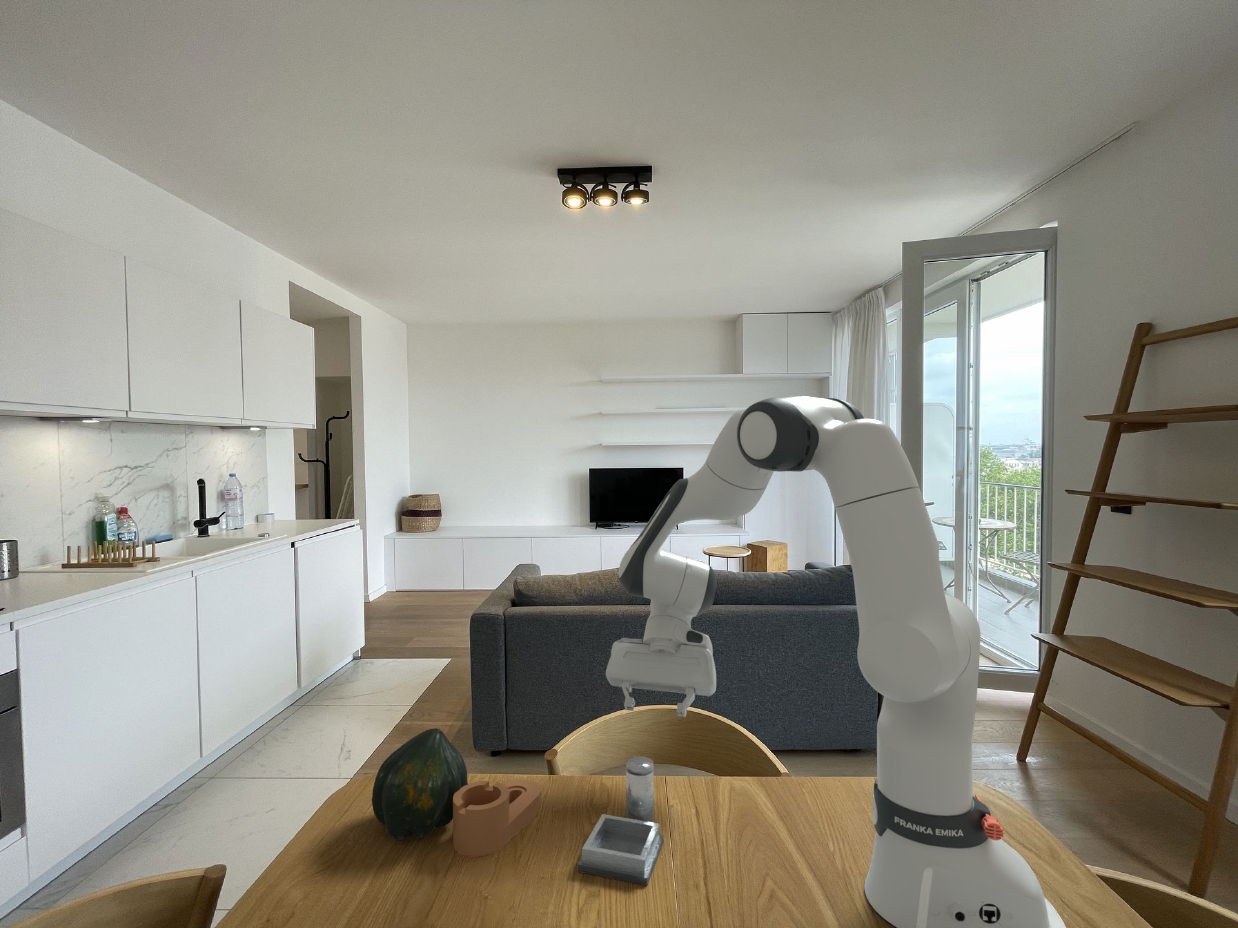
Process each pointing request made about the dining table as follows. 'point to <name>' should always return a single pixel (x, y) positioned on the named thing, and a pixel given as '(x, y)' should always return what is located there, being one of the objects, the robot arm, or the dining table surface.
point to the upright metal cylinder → (640, 789)
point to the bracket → (492, 814)
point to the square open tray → (622, 849)
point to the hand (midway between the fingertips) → (654, 712)
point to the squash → (418, 785)
